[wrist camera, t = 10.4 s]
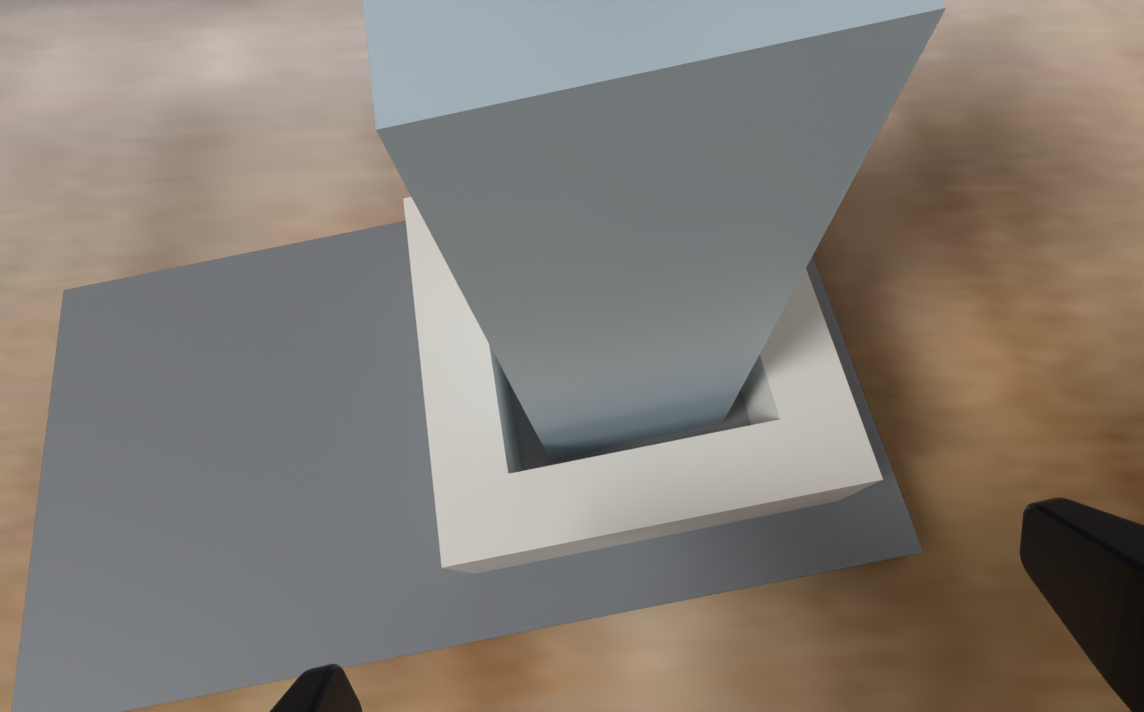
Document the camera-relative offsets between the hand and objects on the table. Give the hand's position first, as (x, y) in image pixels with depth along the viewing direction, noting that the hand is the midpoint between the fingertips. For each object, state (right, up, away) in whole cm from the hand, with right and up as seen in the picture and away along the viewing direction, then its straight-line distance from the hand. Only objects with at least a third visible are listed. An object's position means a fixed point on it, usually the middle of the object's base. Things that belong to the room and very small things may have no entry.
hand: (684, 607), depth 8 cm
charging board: (-5, +2, +10) cm, 11 cm away
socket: (0, +3, +9) cm, 9 cm away
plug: (0, +3, +9) cm, 9 cm away
